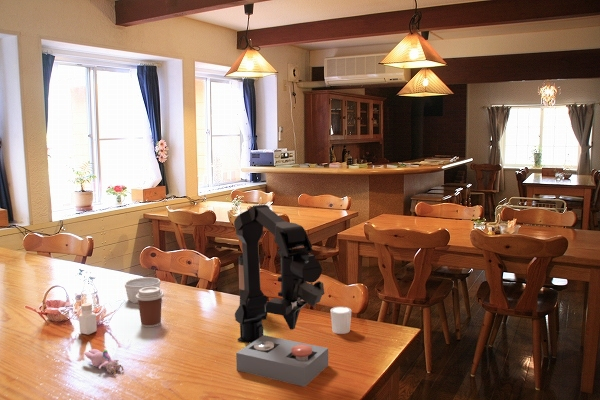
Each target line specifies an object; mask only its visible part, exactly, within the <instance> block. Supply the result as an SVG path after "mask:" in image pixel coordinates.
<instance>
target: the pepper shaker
mask: <svg viewBox="0 0 600 400" xmlns="http://www.w3.org/2000/svg"><path fill="white" fill-rule="evenodd" d="M78 323H79V333H80V334H83V335H87V336H88V335H91V334H94V333H95V332H97V331H98V326H97V314H96V313H95V312H93V303H91V302H86V303H82V304H81V313H80V314H79V316H78Z"/></svg>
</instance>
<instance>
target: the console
mask: <svg viewBox="0 0 600 400" xmlns="http://www.w3.org/2000/svg"><path fill="white" fill-rule="evenodd" d="M260 341H270V342H273V343H274V349H273V350H271V351H270V352H268V353H266V352H261V351H257V350H254V344H255V343H257V342H260ZM296 345H308V346H311V347H312V354H311V355H309V356H308V361H302V360H298V359H296V356H294V355H292V353H291V348H292V347H293V346H296ZM235 359H236V371H238V372H243V373H247V374H251V375H255V376H259V377H262V378H267V379H272V380H275V381H280V382H283V383H288V384H292V385H296V386H299V387H303V388H305V387H306V386H307V385H308V384H309V383H311V382H312V381H313V380H314V379H315V378H316V377H317V376H318V375H319V374H321V372H322V371H325V369H326V368H327V367H328V366H329V348H328V347H326V346H325V347H324V346H320V345H314V344H310V343H304V342H299V341H295V340H290V339H284V338H281V337H280V338H279V337H276V336H275V337H274V336H270V335H266V334H265V335H263V336H262V337H260V338H259V339H257V340H255V341H254V342H252V343H248V345H246V346H245V347H243V348H242V349H240V350H238V351H237V352H236V356H235Z"/></svg>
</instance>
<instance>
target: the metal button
mask: <svg viewBox="0 0 600 400" xmlns="http://www.w3.org/2000/svg"><path fill="white" fill-rule="evenodd" d="M273 349H274V343H273V342H270V341H260V342H257V343H255V344H254V350H257V351H261V352H266V353H268V352H270V351H271V350H273Z"/></svg>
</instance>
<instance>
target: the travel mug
mask: <svg viewBox="0 0 600 400" xmlns="http://www.w3.org/2000/svg"><path fill="white" fill-rule="evenodd" d="M260 262H261V259H260V256H259V270H260V271H261V263H260ZM261 282H262V281H260V289H261ZM238 287H239V288H238V289H239V298H240V297H241V295H242V293H243V291H244V269H243V254H240V255H239V256H238Z"/></svg>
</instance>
